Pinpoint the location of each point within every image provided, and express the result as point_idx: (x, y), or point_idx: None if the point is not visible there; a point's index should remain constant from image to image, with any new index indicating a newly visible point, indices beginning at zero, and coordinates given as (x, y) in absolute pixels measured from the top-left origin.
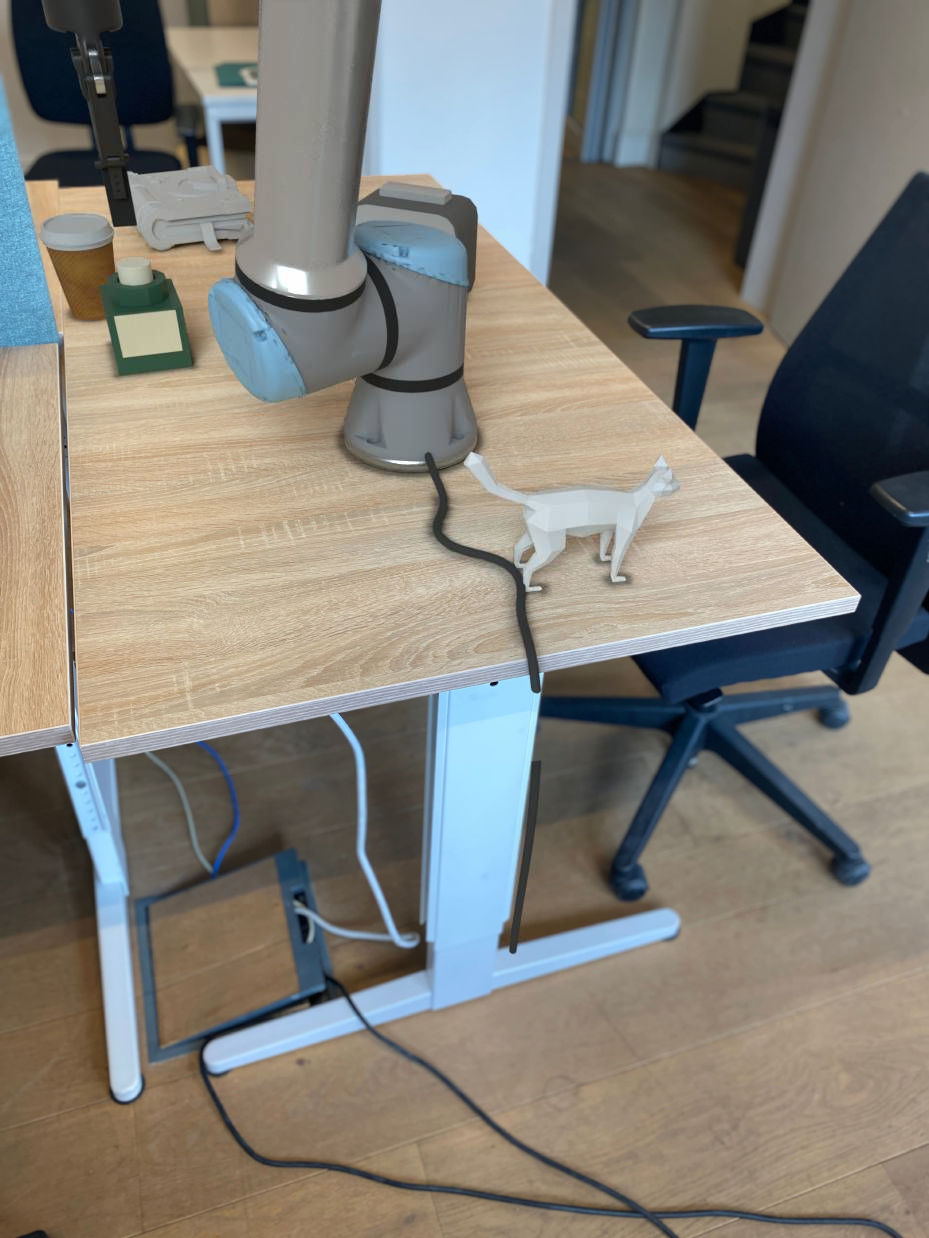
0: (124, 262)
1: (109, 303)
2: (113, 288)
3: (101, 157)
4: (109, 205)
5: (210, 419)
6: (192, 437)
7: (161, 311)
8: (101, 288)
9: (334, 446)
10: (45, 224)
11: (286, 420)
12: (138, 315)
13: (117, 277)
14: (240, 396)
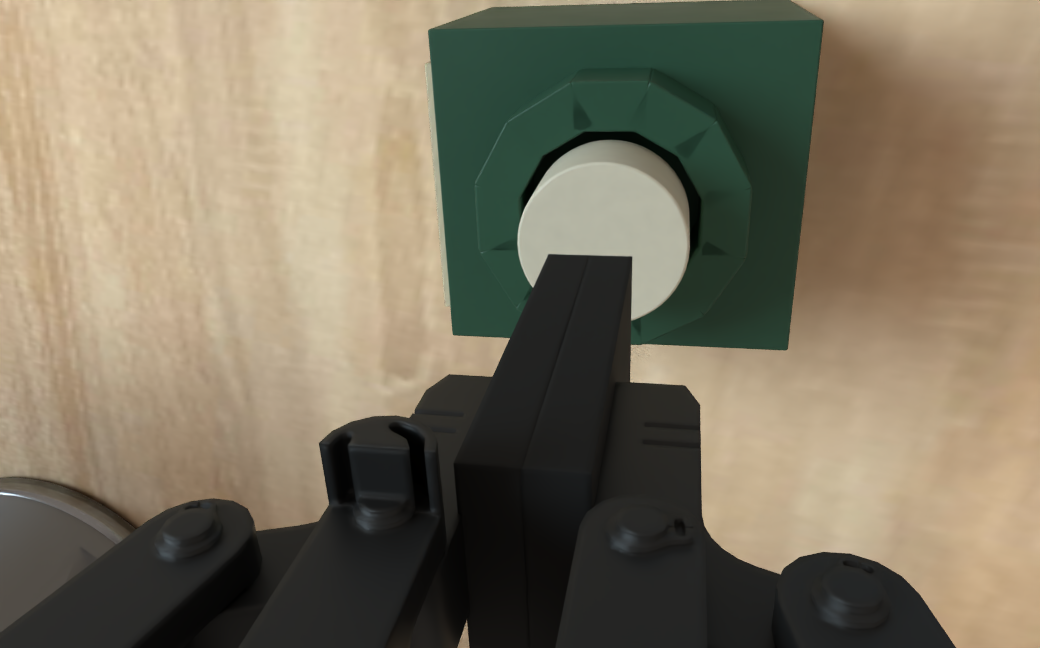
0: (613, 206)
1: (562, 57)
2: (534, 102)
3: (182, 557)
4: (527, 312)
5: (172, 237)
6: (82, 176)
7: (445, 255)
8: (773, 31)
9: (39, 458)
10: None
11: (155, 403)
12: (435, 164)
13: (648, 137)
14: (291, 335)
